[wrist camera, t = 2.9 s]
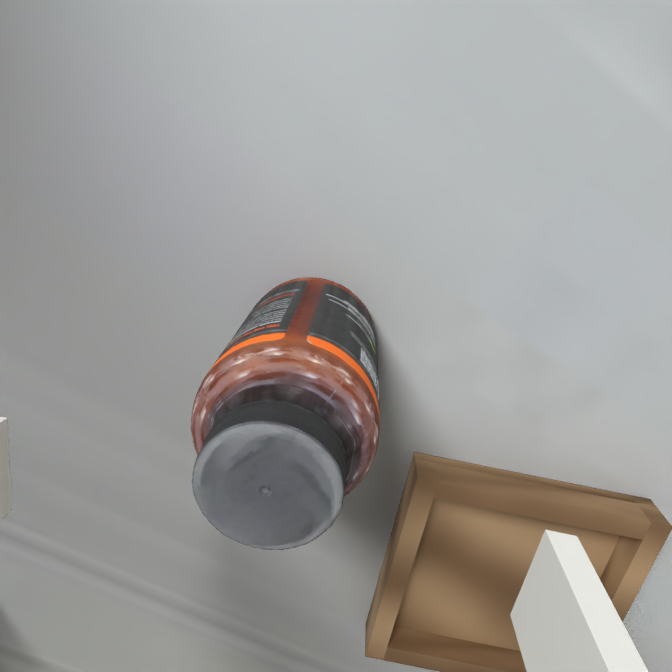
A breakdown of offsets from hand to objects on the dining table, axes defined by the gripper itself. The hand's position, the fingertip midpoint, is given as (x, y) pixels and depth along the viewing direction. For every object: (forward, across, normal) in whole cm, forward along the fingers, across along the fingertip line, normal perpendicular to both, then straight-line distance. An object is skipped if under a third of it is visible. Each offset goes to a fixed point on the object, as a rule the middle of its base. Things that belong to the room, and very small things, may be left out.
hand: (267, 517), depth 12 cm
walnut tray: (+12, +12, -11) cm, 20 cm away
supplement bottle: (+12, 0, 0) cm, 12 cm away
